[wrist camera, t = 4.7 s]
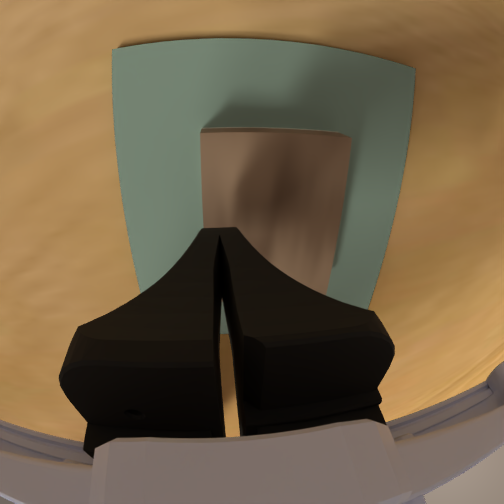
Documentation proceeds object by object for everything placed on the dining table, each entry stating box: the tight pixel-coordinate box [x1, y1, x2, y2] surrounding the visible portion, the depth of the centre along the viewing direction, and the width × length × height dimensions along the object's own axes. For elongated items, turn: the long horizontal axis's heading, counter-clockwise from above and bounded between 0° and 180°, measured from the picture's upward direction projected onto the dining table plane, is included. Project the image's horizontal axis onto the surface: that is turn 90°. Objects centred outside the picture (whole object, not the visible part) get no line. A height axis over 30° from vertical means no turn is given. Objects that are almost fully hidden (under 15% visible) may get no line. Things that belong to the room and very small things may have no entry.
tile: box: [200, 127, 352, 302], centre depth 13 cm, size 8×2×6 cm
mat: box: [112, 38, 416, 334], centre depth 14 cm, size 16×14×1 cm
